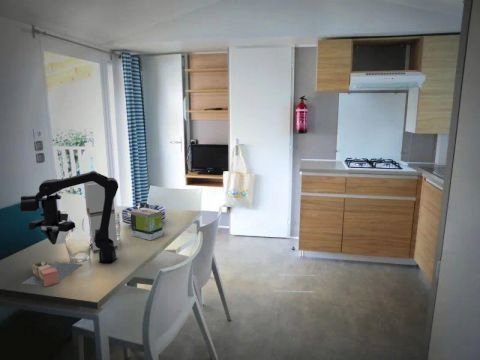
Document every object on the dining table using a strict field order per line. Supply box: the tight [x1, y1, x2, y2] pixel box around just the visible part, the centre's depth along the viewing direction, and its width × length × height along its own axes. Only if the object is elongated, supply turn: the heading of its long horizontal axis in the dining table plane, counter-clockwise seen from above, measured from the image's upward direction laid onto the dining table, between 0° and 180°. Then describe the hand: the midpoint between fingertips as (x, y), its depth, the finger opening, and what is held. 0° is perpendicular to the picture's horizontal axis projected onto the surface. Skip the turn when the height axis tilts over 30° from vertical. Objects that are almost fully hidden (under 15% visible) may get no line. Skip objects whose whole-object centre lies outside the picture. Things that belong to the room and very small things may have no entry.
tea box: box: [130, 207, 164, 241], centre depth 191 cm, size 15×10×15 cm, turn 58°
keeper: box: [41, 267, 60, 287], centre depth 138 cm, size 4×5×6 cm
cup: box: [54, 209, 70, 244], centre depth 184 cm, size 8×8×16 cm
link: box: [31, 260, 52, 280], centre depth 144 cm, size 15×5×4 cm, turn 49°
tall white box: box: [83, 181, 119, 254], centre depth 172 cm, size 11×11×35 cm
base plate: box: [21, 261, 83, 287], centre depth 147 cm, size 14×20×1 cm
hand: (54, 244), depth 149 cm, fingers closed
